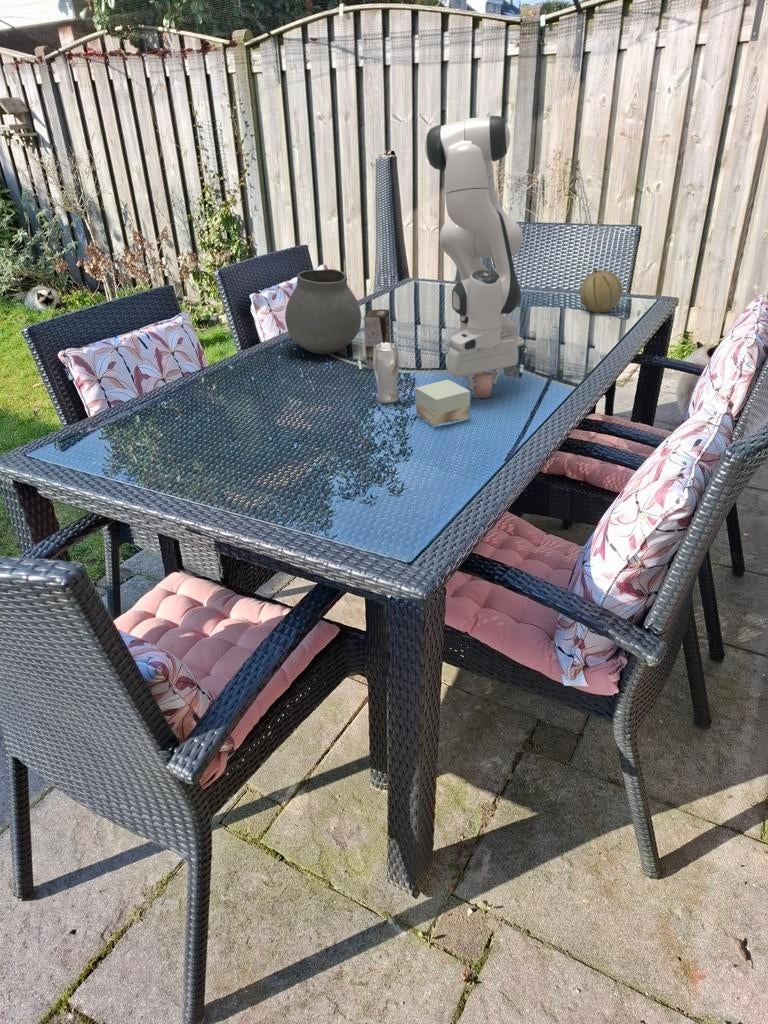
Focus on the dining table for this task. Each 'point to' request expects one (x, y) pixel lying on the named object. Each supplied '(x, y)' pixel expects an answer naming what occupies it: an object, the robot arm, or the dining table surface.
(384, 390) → the beer glass
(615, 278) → the cantaloupe
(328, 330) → the ceramic pot
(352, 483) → the dining table surface
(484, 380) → the rose cylinder
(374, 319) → the coffee box
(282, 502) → the dining table surface
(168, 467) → the dining table surface
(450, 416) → the tower base
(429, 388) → the tower top
